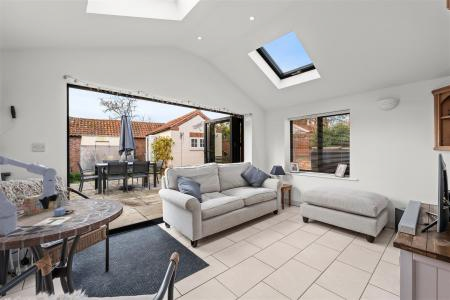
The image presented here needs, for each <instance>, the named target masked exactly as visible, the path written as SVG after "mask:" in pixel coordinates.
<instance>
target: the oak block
mask: <svg viewBox="0 0 450 300" xmlns="http://www.w3.org/2000/svg"><path fill="white" fill-rule="evenodd" d="M56 209H58V207H57V201H49V207H48V209H43V206H42V211H44V212H52V211H54V210H56Z"/></svg>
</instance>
